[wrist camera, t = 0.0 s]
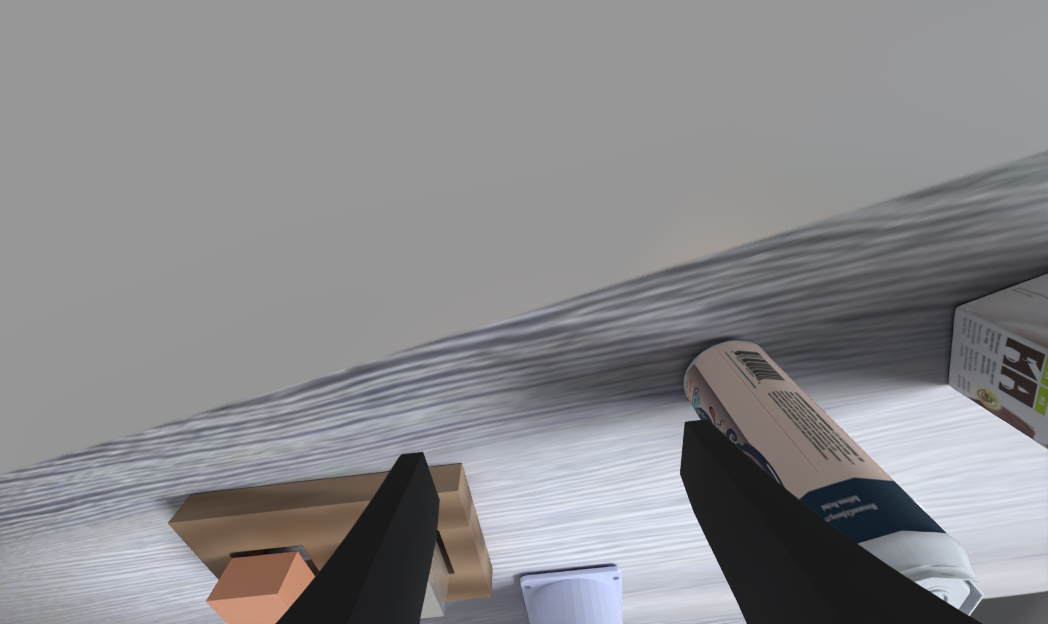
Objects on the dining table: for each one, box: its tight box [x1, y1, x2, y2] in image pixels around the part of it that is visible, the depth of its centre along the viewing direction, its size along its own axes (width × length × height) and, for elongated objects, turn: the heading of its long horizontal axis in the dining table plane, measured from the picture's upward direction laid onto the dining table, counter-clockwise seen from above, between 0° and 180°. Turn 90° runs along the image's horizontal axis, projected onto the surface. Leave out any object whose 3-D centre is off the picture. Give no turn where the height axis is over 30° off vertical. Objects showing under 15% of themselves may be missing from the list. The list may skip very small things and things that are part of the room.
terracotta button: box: [206, 551, 315, 624], centre depth 26 cm, size 4×4×2 cm
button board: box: [168, 463, 492, 602], centre depth 28 cm, size 12×18×2 cm, turn 97°
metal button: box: [420, 541, 449, 619], centre depth 25 cm, size 4×4×2 cm
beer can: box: [683, 340, 985, 616], centre depth 17 cm, size 5×5×12 cm
